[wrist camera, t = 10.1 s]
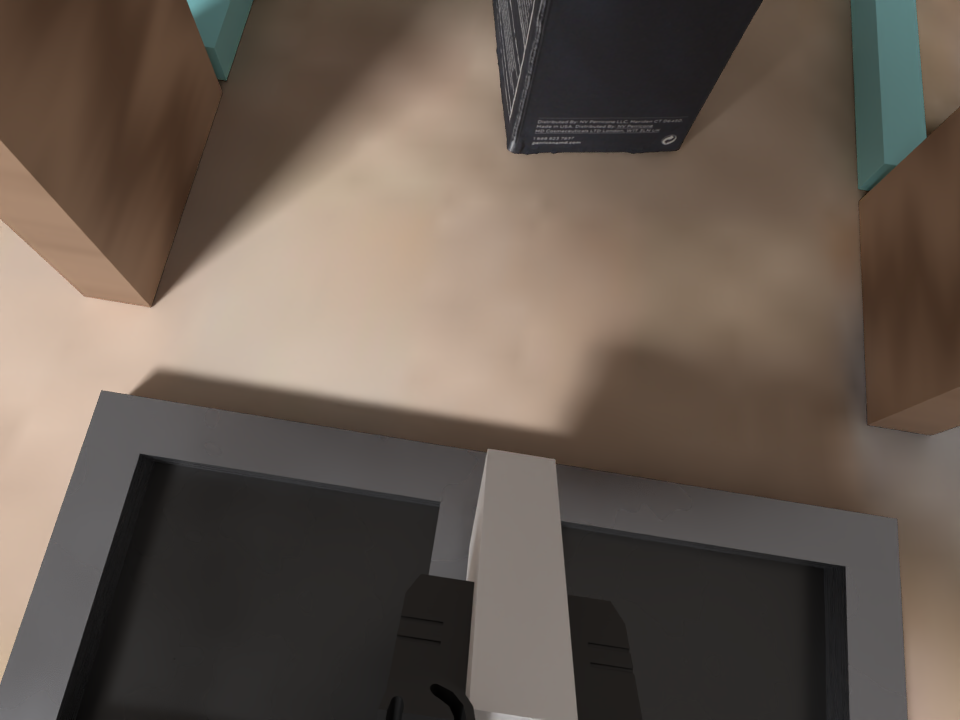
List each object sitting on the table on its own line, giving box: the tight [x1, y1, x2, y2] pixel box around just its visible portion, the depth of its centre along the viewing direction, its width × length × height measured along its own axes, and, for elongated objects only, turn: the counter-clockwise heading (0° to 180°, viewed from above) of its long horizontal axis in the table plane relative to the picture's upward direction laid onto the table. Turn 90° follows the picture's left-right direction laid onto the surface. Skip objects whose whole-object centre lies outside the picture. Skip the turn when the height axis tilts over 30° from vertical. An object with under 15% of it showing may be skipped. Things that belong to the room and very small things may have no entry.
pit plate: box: [0, 390, 908, 720], centre depth 18 cm, size 10×22×1 cm, turn 81°
